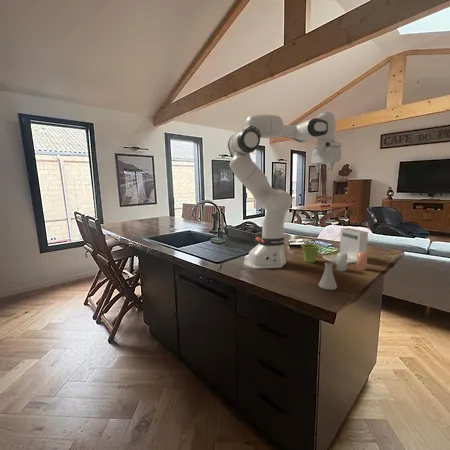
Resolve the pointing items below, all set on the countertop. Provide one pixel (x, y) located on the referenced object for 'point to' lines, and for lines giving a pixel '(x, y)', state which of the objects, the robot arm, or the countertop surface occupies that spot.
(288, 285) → the countertop surface
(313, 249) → the plant pot
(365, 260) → the terracotta part
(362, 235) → the service unit
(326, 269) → the flask
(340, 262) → the sage part
